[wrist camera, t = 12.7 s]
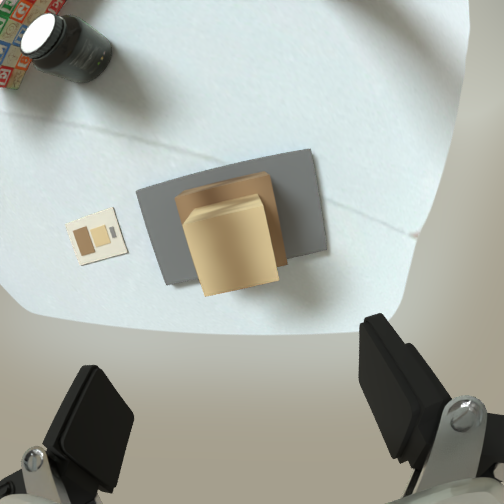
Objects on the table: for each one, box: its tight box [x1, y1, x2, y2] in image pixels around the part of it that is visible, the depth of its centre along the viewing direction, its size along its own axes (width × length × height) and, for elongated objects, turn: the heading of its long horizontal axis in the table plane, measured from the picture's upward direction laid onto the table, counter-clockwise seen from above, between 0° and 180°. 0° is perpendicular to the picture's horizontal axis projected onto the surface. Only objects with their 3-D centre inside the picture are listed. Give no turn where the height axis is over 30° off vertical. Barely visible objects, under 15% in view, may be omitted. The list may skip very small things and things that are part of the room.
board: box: [136, 149, 327, 285], centre depth 32 cm, size 20×12×1 cm, turn 102°
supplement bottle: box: [20, 12, 112, 83], centre depth 19 cm, size 7×7×12 cm
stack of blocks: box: [0, 0, 66, 89], centre depth 15 cm, size 21×6×12 cm, turn 152°
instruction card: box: [65, 207, 128, 265], centre depth 32 cm, size 8×6×1 cm
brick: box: [175, 171, 288, 284], centre depth 29 cm, size 9×9×5 cm
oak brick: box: [182, 194, 279, 297], centre depth 24 cm, size 6×6×6 cm
